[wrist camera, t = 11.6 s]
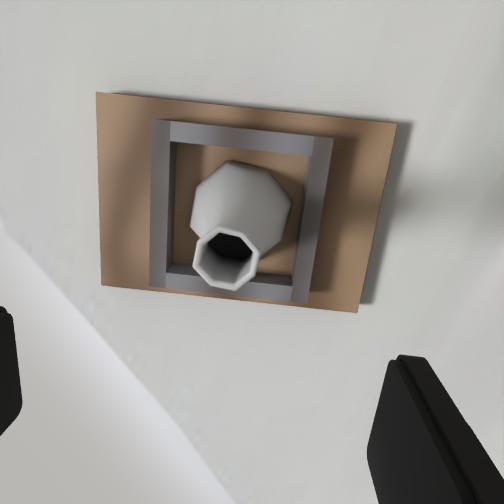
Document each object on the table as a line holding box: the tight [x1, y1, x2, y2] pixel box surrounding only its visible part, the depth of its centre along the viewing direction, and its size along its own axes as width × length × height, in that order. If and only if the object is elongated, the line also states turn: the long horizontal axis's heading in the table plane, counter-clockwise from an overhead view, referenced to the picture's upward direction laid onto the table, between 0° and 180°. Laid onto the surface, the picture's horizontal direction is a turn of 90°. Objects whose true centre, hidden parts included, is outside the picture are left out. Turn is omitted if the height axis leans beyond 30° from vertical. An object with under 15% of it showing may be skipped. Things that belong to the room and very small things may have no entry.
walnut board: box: [96, 92, 397, 313], centre depth 27 cm, size 20×14×4 cm
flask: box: [189, 160, 293, 291], centre depth 23 cm, size 7×7×10 cm
